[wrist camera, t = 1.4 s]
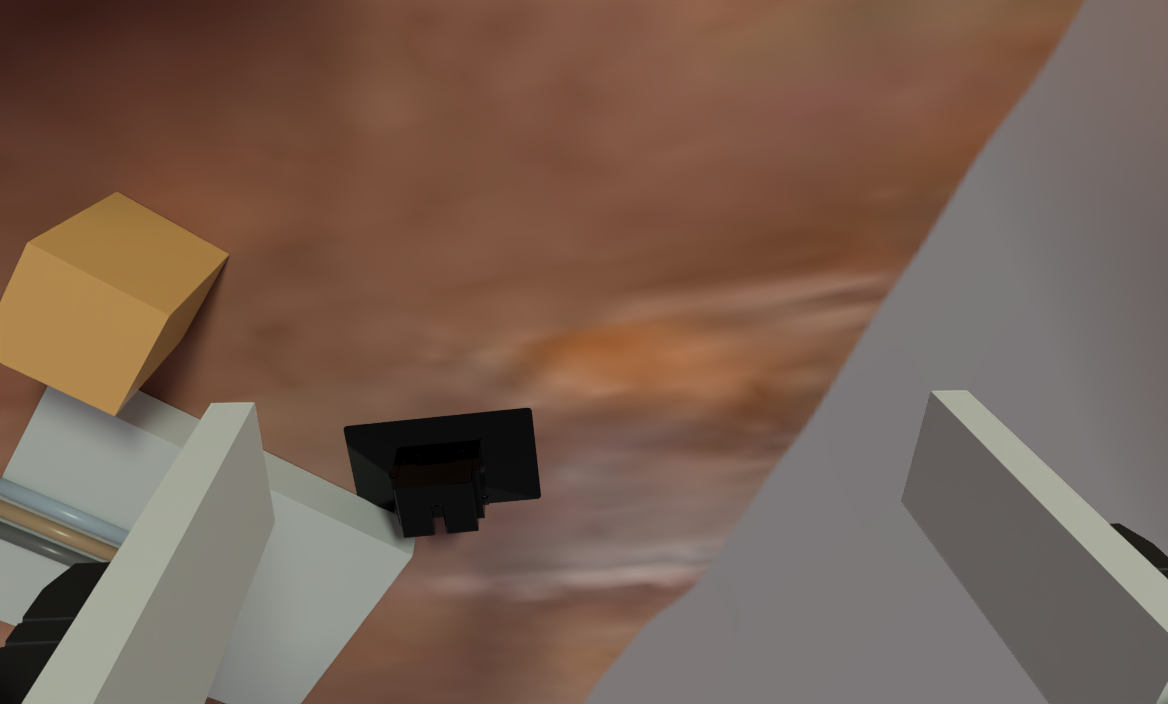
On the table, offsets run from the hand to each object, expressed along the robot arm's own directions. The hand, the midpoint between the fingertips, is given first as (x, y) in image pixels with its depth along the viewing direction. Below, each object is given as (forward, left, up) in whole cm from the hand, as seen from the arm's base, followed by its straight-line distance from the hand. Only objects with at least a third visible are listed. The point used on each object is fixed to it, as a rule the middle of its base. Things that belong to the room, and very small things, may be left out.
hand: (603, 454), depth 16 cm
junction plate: (-5, -26, -22) cm, 34 cm away
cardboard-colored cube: (-13, -13, -22) cm, 28 cm away
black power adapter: (+4, -15, -23) cm, 27 cm away
